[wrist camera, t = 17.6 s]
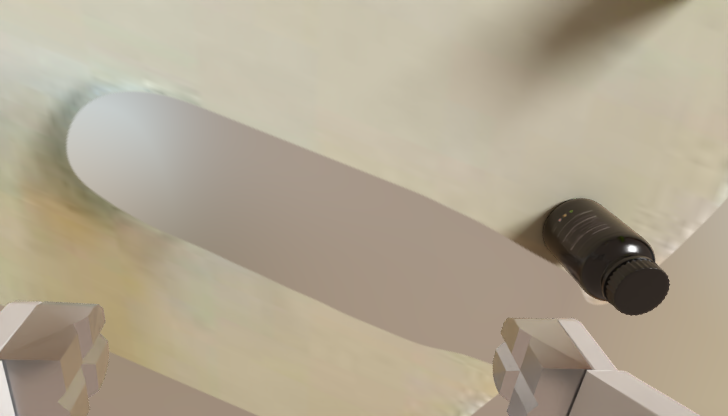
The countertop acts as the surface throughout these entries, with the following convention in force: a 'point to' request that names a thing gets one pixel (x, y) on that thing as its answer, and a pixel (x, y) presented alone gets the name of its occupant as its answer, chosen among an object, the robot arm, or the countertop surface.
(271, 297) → the countertop surface
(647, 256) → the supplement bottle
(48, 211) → the countertop surface
